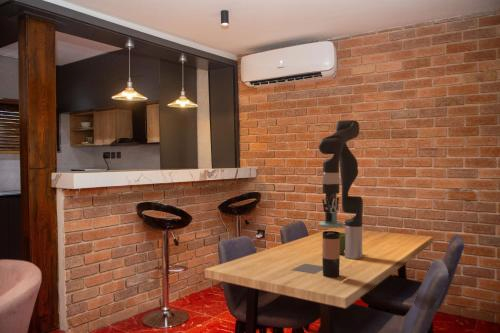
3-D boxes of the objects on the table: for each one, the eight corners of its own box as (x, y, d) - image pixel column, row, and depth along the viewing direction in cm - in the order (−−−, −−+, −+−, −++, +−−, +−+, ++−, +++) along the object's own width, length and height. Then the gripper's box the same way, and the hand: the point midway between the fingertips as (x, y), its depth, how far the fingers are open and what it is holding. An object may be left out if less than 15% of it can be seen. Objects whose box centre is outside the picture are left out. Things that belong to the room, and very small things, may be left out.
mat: (304, 264, 206) (304, 263, 206) (327, 268, 199) (327, 266, 199) (290, 271, 193) (290, 269, 193) (314, 275, 186) (314, 273, 186)
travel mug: (337, 274, 188) (337, 230, 188) (341, 279, 180) (341, 233, 180) (320, 274, 187) (320, 230, 187) (324, 279, 180) (324, 233, 180)
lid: (324, 223, 191) (324, 210, 191) (347, 225, 185) (347, 211, 185) (314, 226, 182) (314, 212, 182) (337, 228, 176) (337, 214, 176)
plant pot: (348, 256, 225) (348, 235, 225) (327, 255, 228) (327, 235, 228) (348, 251, 237) (348, 232, 237) (327, 250, 239) (327, 231, 239)
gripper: (329, 182, 192) (329, 218, 192) (316, 183, 180) (316, 222, 180) (344, 182, 187) (344, 219, 187) (332, 183, 176) (332, 223, 176)
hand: (331, 220), depth 184 cm, fingers closed on lid, 4 cm apart
